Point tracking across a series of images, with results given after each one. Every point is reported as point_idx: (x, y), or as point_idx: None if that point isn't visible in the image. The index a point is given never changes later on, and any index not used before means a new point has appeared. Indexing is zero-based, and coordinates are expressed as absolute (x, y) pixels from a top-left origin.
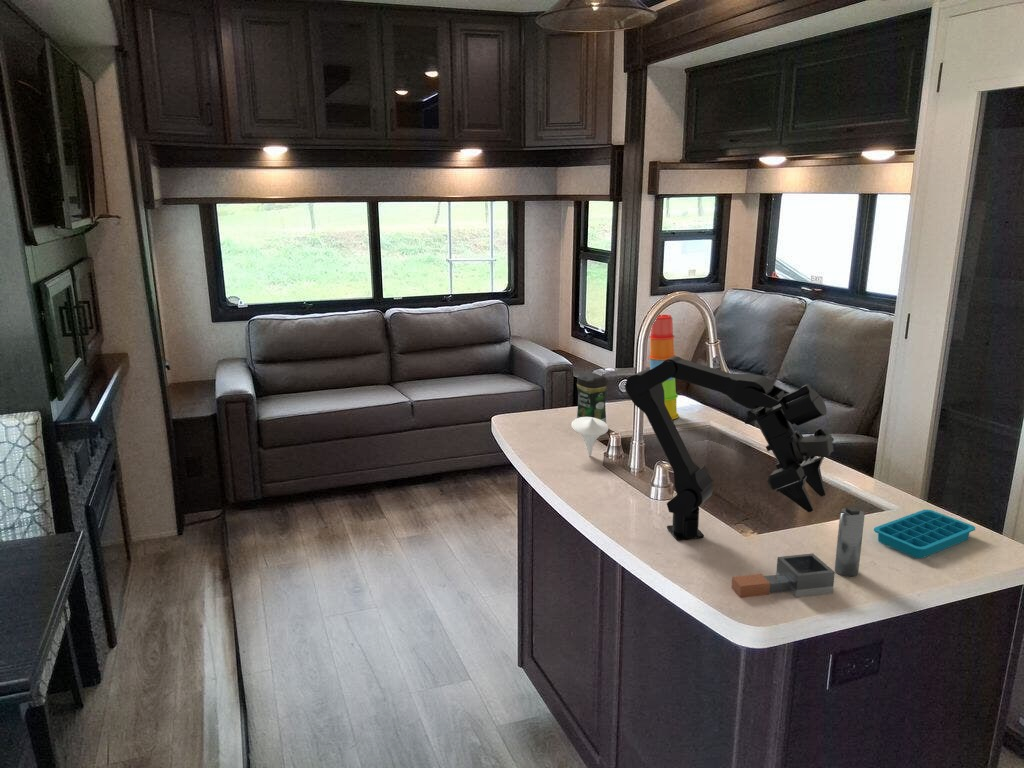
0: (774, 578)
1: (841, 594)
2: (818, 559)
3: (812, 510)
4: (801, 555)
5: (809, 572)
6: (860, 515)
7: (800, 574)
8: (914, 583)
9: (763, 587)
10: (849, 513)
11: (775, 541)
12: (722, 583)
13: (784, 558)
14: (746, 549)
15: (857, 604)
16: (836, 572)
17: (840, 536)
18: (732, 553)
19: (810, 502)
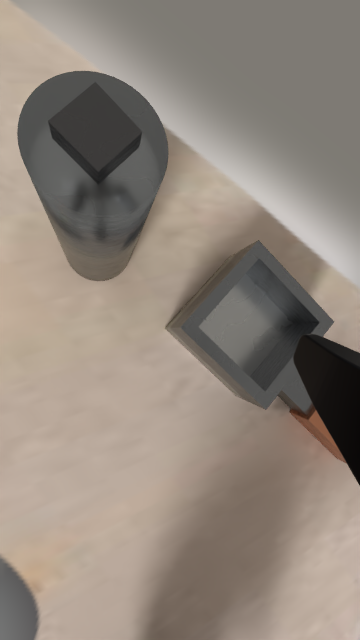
0: (299, 384)
1: (223, 237)
2: (211, 300)
3: (316, 336)
4: (215, 353)
5: (300, 300)
6: (112, 93)
7: (322, 318)
8: (54, 76)
9: None
10: (127, 156)
11: (15, 492)
12: (330, 484)
13: (262, 389)
14: (128, 534)
15: (246, 197)
16: (122, 270)
17: (135, 237)
18: (177, 551)
19: (352, 357)
